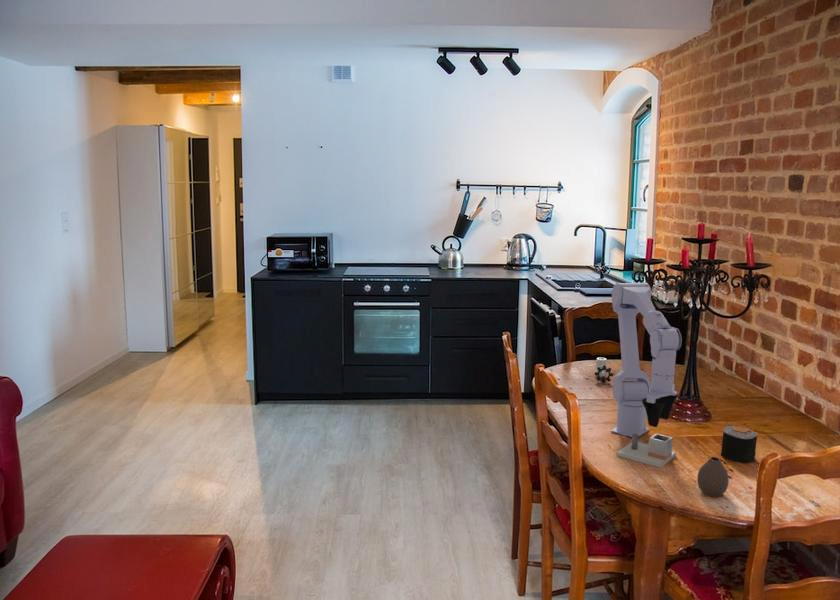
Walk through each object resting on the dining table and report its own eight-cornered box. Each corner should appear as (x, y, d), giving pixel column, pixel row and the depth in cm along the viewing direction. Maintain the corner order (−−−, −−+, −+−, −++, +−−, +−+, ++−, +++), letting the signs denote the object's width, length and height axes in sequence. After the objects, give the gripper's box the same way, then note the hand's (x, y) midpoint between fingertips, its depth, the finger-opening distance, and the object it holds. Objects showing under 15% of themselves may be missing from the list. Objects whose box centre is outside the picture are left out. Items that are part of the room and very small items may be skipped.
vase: (691, 492, 172) (694, 458, 171) (703, 484, 177) (707, 450, 176) (719, 502, 168) (723, 467, 166) (732, 493, 172) (735, 459, 171)
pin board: (633, 444, 203) (634, 427, 202) (675, 455, 195) (677, 437, 194) (616, 455, 194) (618, 438, 193) (660, 467, 187) (662, 449, 186)
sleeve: (654, 450, 195) (656, 433, 195) (671, 455, 193) (673, 437, 192) (648, 455, 192) (649, 437, 191) (664, 460, 189) (666, 442, 188)
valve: (591, 373, 273) (594, 382, 262) (592, 356, 272) (595, 365, 261) (608, 374, 273) (612, 383, 261) (610, 357, 271) (614, 366, 260)
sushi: (728, 448, 201) (731, 421, 199) (759, 457, 195) (762, 429, 193) (715, 456, 195) (718, 428, 194) (746, 465, 189) (749, 436, 188)
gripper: (667, 382, 182) (662, 433, 185) (687, 370, 193) (683, 418, 196) (640, 376, 186) (636, 426, 189) (661, 365, 198) (657, 412, 200)
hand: (658, 422), depth 193 cm, fingers open, 7 cm apart
